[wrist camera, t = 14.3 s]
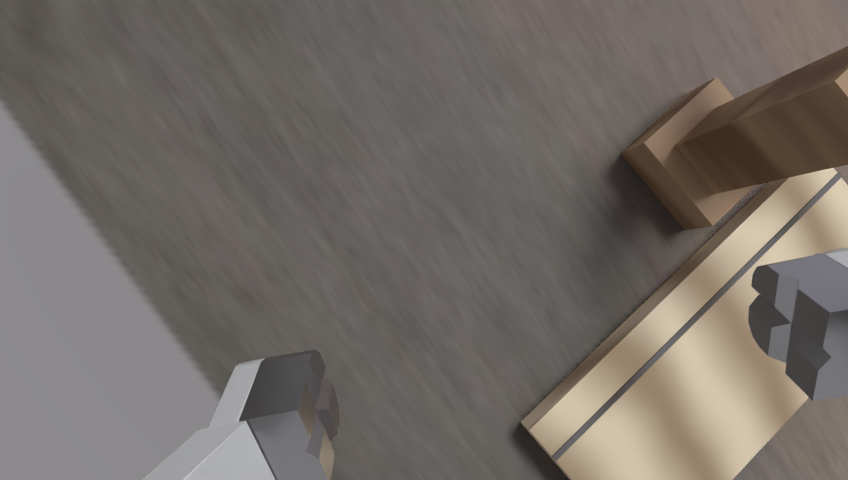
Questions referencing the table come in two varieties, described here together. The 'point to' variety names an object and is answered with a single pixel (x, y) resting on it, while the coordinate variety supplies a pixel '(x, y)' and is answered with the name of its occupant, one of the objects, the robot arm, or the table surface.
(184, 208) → the table surface
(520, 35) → the table surface
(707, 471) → the plank
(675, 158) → the wooden peg post
